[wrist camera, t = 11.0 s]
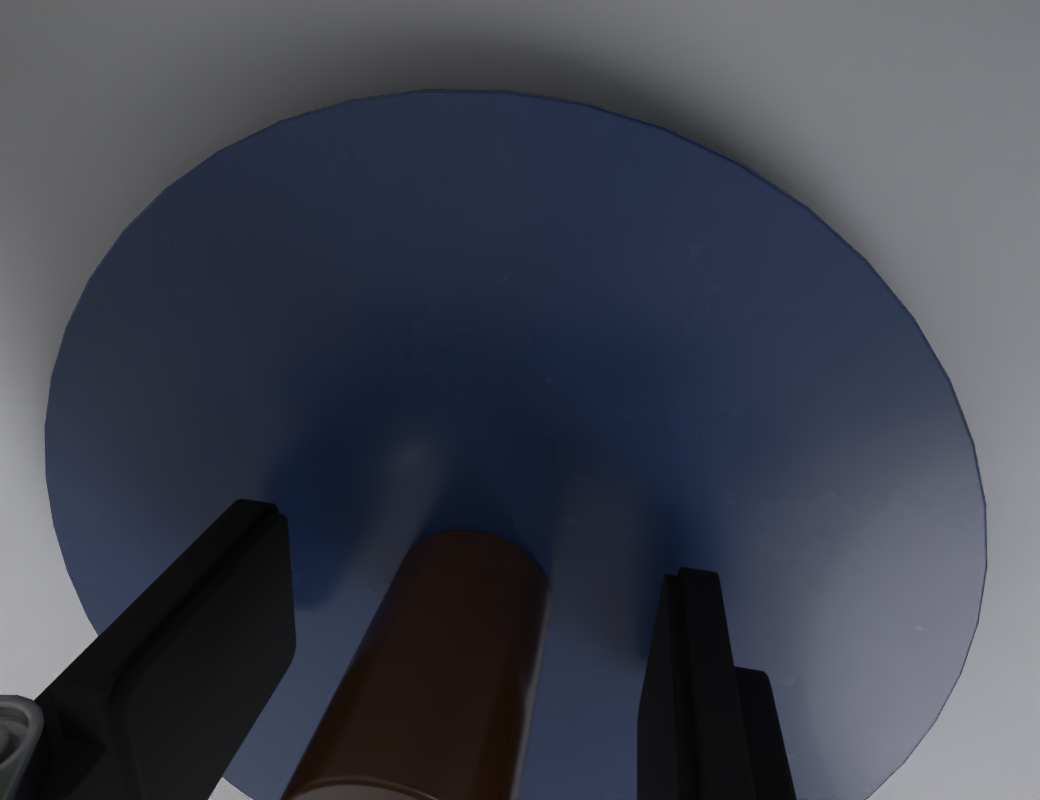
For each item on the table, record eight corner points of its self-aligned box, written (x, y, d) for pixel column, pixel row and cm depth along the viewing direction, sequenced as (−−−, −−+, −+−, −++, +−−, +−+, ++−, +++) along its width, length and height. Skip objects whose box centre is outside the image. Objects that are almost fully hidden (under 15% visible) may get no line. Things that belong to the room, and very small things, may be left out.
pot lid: (13, 50, 10) (-609, 1, 5) (1123, 140, 9) (1842, 199, 3) (153, 768, 16) (-68, 1074, 11) (820, 904, 15) (918, 1336, 10)
